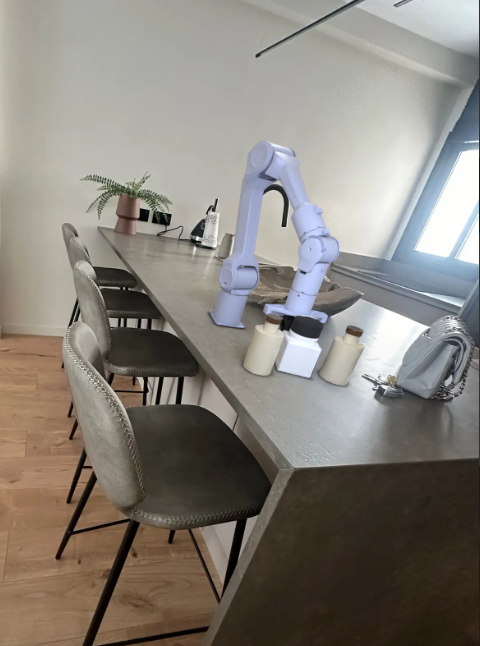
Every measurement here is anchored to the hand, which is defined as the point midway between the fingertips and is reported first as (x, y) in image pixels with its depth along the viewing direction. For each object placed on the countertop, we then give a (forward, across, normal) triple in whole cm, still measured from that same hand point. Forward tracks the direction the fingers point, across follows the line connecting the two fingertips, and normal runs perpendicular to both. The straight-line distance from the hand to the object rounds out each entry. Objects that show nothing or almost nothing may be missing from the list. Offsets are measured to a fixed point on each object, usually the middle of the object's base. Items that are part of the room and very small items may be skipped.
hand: (283, 345), depth 88 cm
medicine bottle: (+3, 0, -6) cm, 7 cm away
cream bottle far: (+2, +9, -9) cm, 13 cm away
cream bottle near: (+2, -9, -9) cm, 13 cm away
